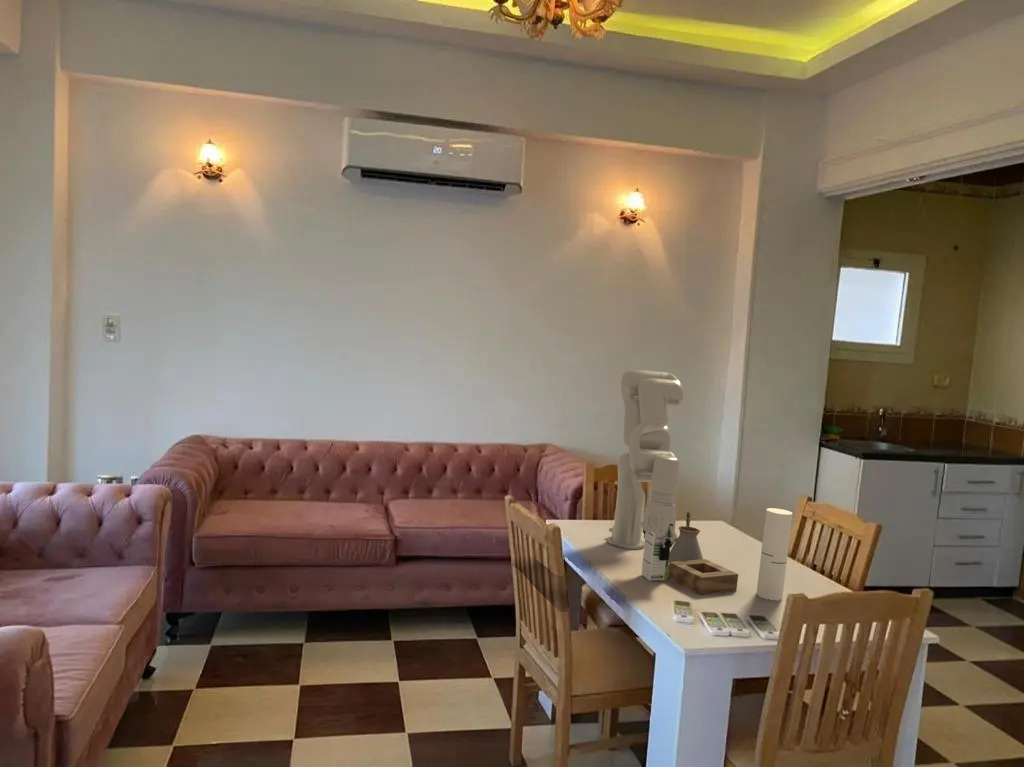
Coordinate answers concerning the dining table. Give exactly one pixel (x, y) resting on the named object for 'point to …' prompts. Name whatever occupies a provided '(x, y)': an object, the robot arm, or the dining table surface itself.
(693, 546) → the coffee pot
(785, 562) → the cylindrical container
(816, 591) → the dining table surface
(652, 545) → the syrup box
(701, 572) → the mount block
